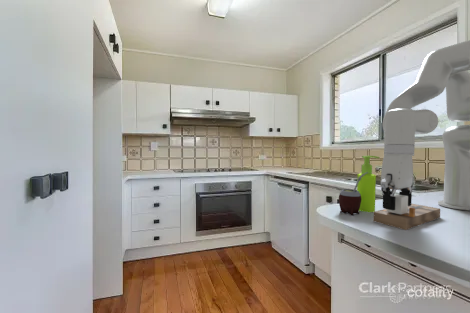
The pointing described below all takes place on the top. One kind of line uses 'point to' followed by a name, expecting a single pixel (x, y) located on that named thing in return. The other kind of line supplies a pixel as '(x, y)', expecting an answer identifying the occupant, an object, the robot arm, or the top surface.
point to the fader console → (407, 216)
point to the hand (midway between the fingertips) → (397, 207)
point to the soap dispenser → (367, 186)
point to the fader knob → (400, 204)
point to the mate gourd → (350, 200)
